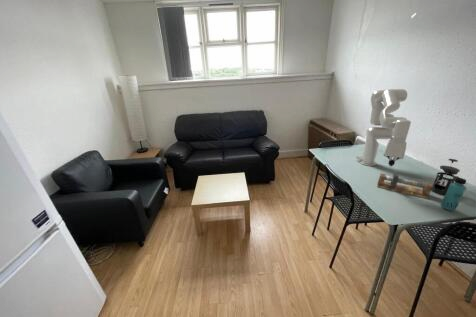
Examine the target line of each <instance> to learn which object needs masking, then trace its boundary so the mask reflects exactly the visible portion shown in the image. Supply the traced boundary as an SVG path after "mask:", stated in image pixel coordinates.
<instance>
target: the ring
mask: <svg viewBox="0 0 476 317" xmlns="http://www.w3.org/2000/svg"><path fill="white" fill-rule="evenodd" d="M399 174H400V172H396V171H393V174H392V177H393V180H392V181H390V183H391V187H393V188H395V187H396V184H398V183H397V181H398V178H400V177H399V176H400V175H399Z"/></svg>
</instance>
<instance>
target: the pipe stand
mask: <svg viewBox="0 0 476 317" xmlns="http://www.w3.org/2000/svg"><path fill="white" fill-rule="evenodd" d="M392 180H393V176H390V175H387V174H386V173H381V172H380V174H379V178H378V181H377V186H376V187H377V188H380V189H383V190H389V191H393V192H396V193H399V194H400V193H401V194H405V195H409V196H413V197H416V198H417V197H418V198H422V199H425V200H430V197H429V196H430V193H431V192H432V191H431V189H432V185H433V184H432V183H430V182H425V181H424V183H423V182H419V181H415V180H409V179H406V178H405V179H404V178H400V177H399V178H398V181H397V184H396V187H395V188H393V187H391V181H392ZM402 184H403V185H402Z"/></svg>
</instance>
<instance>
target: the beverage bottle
mask: <svg viewBox="0 0 476 317" xmlns="http://www.w3.org/2000/svg"><path fill="white" fill-rule="evenodd" d="M455 182H456V183H455ZM466 183H467V179H465V178H462V177H460V178H456V179H455V181H454V183H451V184H450V186H449V188H448V190H447V192H446V194H445V195H443V199H442V201H441V202H440V207H442V208H443V209H446V210H449V211H455V210H457V208H458V206H459V204H460V202H461V200H462V197H463V195H464V193H465V191H466V189H467V186H465V185H466Z"/></svg>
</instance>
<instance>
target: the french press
mask: <svg viewBox="0 0 476 317" xmlns="http://www.w3.org/2000/svg"><path fill="white" fill-rule="evenodd" d="M448 161H450V162H451V164H450V166H449V165H440V166H439V168H440V170H442V171H443V172H441V171H440V172H437V173H436V177H435V179H434V181H433V183H432V184H431V185H432V189H431V191H430V192H433V193H434V194H436V195H440V196H445V194H446V192H447V190H448V188H449V186H450V184H451V183H456V182H455V179H456V178H461V177H459V175H458V173H460V172H461V171H460V170H461V169H459V168H458V167H454V166H452V165H453V163H454V162H456V163H457V162H459V161H458V160H457V159H456V158H448ZM444 175H445V176H444ZM456 175H458V176H456ZM449 176H450V177H452V178H448V177H449Z"/></svg>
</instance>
